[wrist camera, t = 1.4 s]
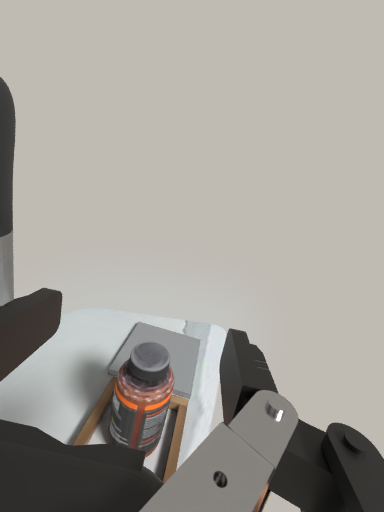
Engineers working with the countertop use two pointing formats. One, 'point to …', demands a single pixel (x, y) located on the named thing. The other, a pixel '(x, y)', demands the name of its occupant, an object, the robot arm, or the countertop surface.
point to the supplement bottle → (141, 398)
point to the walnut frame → (175, 403)
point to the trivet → (178, 347)
